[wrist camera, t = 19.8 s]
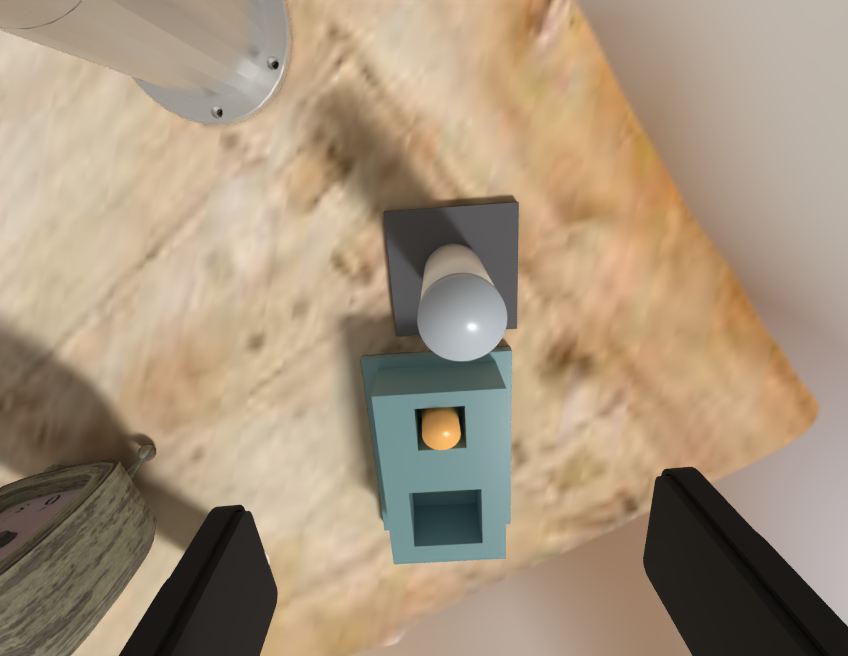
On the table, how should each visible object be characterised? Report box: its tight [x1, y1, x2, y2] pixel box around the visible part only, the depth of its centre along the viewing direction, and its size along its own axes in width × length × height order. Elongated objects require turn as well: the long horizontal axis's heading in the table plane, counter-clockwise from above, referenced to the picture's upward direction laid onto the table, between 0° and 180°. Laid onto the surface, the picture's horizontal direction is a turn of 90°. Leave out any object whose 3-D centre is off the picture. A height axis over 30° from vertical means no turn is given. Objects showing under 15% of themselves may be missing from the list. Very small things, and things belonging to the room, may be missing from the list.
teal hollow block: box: [361, 346, 512, 564], centre depth 38 cm, size 21×14×6 cm, turn 4°
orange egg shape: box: [422, 406, 461, 450], centre depth 34 cm, size 3×3×4 cm
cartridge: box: [417, 244, 507, 361], centre depth 28 cm, size 5×5×12 cm
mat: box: [384, 202, 519, 336], centre depth 34 cm, size 11×11×1 cm
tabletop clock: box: [0, 445, 157, 656], centre depth 31 cm, size 14×9×25 cm, turn 104°
